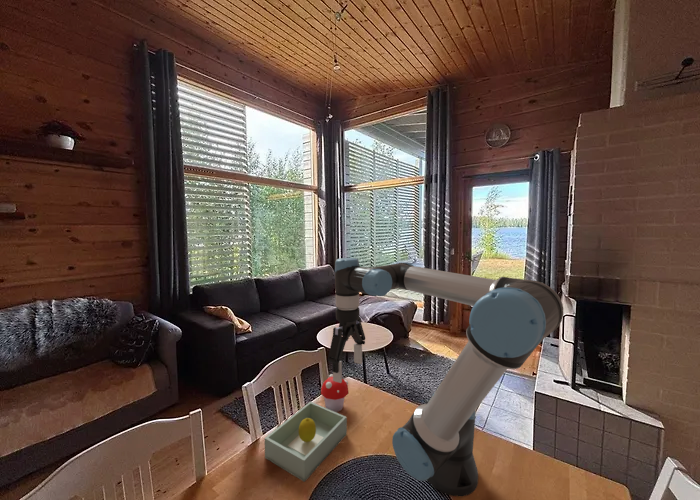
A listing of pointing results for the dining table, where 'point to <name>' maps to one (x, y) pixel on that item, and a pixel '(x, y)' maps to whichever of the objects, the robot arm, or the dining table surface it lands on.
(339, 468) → the dining table surface
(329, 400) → the mushroom
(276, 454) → the crate
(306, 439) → the lemon
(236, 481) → the dining table surface
